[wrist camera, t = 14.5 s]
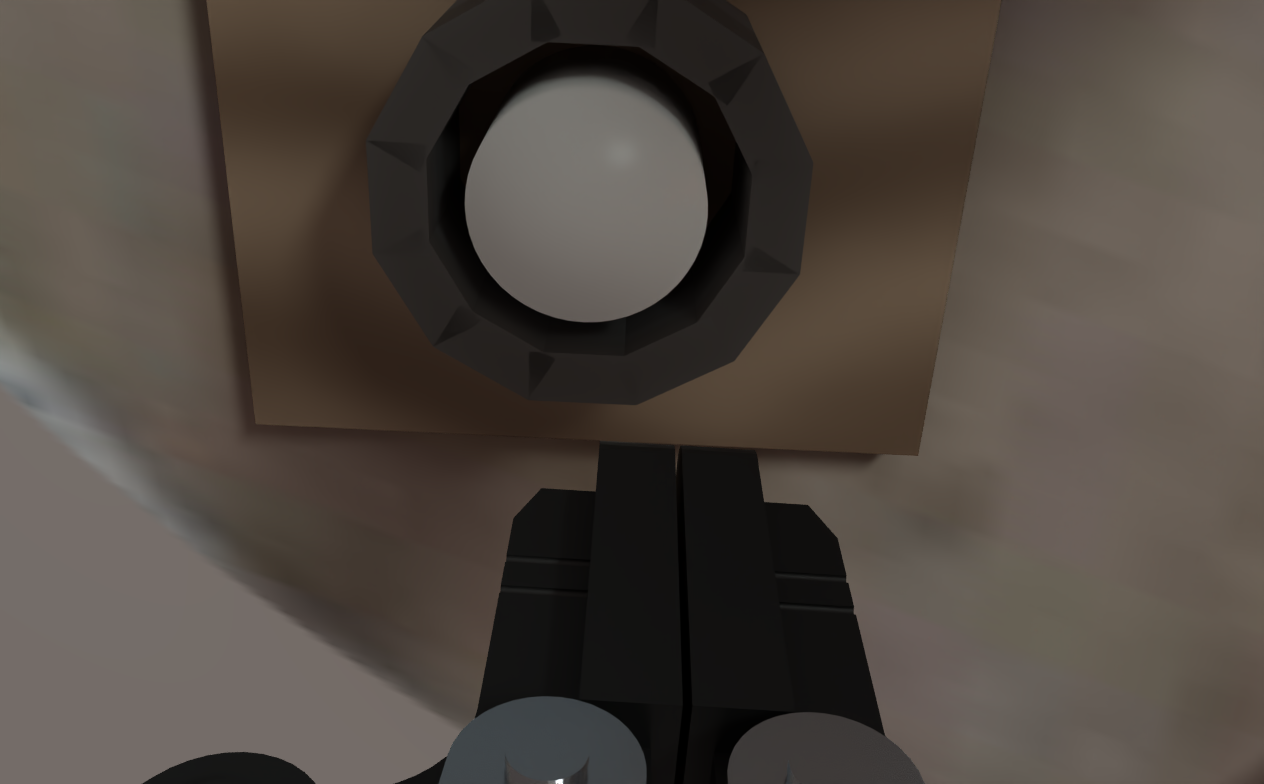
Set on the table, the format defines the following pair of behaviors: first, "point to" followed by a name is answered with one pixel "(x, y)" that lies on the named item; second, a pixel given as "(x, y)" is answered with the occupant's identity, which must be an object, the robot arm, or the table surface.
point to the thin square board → (679, 322)
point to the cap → (589, 186)
